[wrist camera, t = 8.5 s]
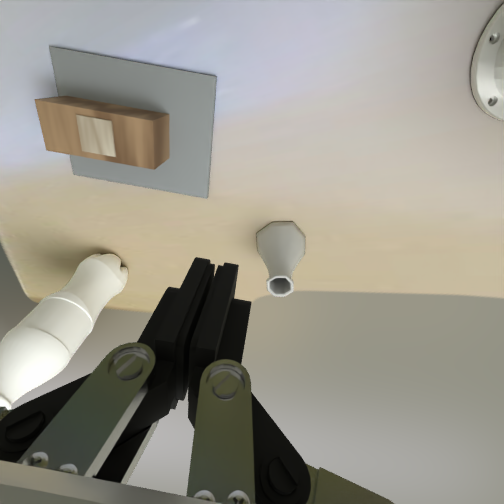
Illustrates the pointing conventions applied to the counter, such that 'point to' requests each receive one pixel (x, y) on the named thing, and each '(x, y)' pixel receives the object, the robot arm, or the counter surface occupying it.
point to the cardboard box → (104, 131)
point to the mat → (153, 99)
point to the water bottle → (57, 327)
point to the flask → (281, 254)
